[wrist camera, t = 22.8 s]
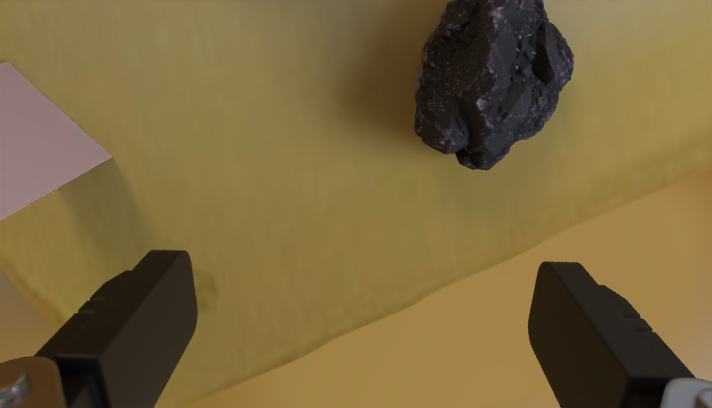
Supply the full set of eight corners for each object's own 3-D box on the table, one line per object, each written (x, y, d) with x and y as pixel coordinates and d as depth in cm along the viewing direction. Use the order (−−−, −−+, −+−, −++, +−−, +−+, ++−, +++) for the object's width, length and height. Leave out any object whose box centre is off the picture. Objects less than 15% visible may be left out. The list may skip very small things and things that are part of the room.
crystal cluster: (562, -25, 37) (611, -50, 28) (570, 139, 41) (616, 166, 32) (398, 10, 39) (392, -1, 30) (421, 163, 43) (422, 194, 34)
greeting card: (-2, 62, 40) (-195, 90, 27) (79, 53, 40) (-76, 76, 26) (45, 184, 45) (-99, 262, 31) (119, 177, 44) (5, 253, 30)
